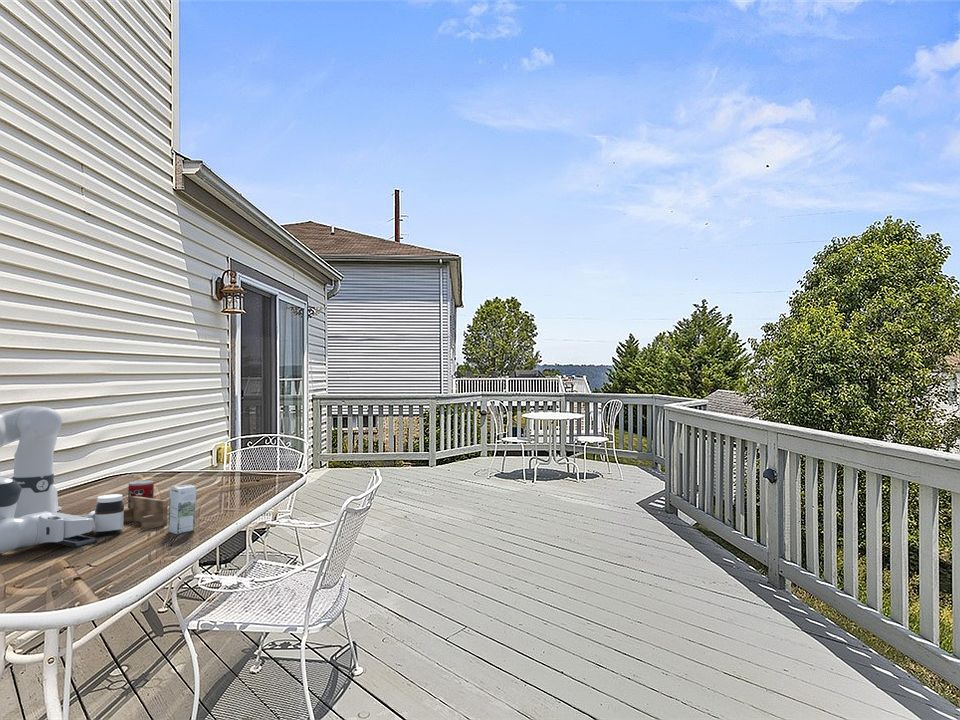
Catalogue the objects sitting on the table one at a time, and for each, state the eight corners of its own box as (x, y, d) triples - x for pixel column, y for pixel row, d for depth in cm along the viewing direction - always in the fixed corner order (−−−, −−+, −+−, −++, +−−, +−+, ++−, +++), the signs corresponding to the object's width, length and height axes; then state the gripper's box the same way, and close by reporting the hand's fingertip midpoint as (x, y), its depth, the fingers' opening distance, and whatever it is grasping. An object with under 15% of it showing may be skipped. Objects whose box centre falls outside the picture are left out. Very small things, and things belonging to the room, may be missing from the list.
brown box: (111, 524, 188) (111, 500, 188) (134, 519, 195) (134, 496, 196) (144, 530, 181) (144, 505, 181) (166, 524, 188) (167, 500, 189)
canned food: (123, 512, 204) (124, 482, 205) (145, 508, 211) (145, 479, 212) (135, 515, 201) (136, 484, 201) (157, 510, 208) (158, 481, 208)
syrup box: (185, 528, 183) (187, 483, 184) (195, 531, 180) (196, 485, 181) (167, 532, 179) (169, 486, 179) (177, 535, 175) (178, 488, 176)
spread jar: (122, 535, 175) (123, 497, 175) (78, 540, 169) (79, 501, 170) (124, 526, 185) (125, 491, 186) (82, 531, 180) (84, 494, 180)
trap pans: (39, 539, 169) (39, 535, 169) (61, 535, 175) (61, 531, 175) (75, 547, 162) (75, 543, 162) (97, 542, 167) (97, 538, 167)
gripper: (19, 534, 165) (70, 524, 178) (60, 543, 157) (110, 531, 169) (20, 513, 166) (70, 504, 178) (61, 520, 157) (111, 510, 170)
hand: (90, 517), depth 174 cm, fingers closed
